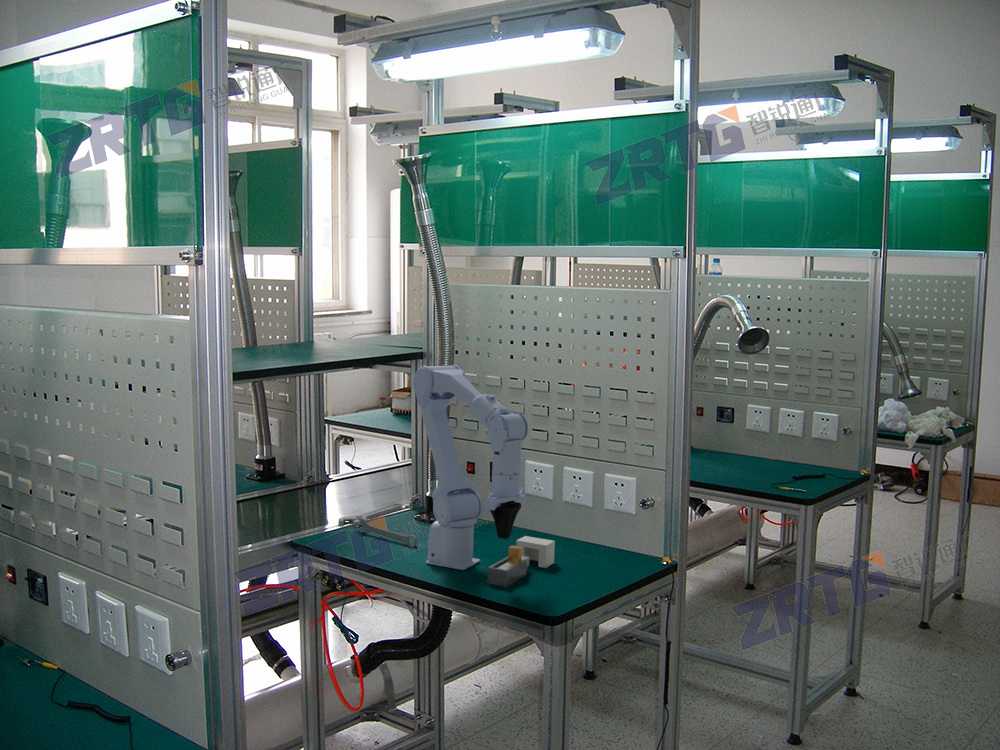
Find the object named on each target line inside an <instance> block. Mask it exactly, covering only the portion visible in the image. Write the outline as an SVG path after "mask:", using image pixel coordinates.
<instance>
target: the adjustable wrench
mask: <svg viewBox="0 0 1000 750" xmlns="http://www.w3.org/2000/svg"><path fill="white" fill-rule="evenodd" d="M402 509H403V503H397V502H396V503H392V504H389V505H386V506H383V507H380V508H377V509H374V510H371V511H368V512H363V513H362V514H358V515H351V516H341V517H340V518H338V526H340V527H343V526H344V525H345V524H344V523H348V524H352V526H353V525H355V524H360V523H362V522H360V521H359V520H358V518H364V519H366V520H367V521H368V522H369V520H368V519H370V520H372V519H371V518H373V519H375V518H378V517H381V516H384V515H386V514H389V513H392V512H396V511H399V510H402ZM383 514H384V515H383ZM380 515H381V516H380ZM374 517H375V518H374ZM345 521H349V522H345ZM343 524H344V525H343Z"/></svg>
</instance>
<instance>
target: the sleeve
mask: <svg viewBox="0 0 1000 750" xmlns="http://www.w3.org/2000/svg"><path fill="white" fill-rule="evenodd" d="M507 562H508V556H506V557H504V558H502V559H500V560H499V561H497V562H495V563H493V564H491V565H489V566H488V567H487V578H486V579H487V581H486V582H487V583H489V584H488V585H492V584H494V586H497V585H498V586H497V587H502V586H503V588H508V587H509V586H511V585H513V584H515V583H516V582H517V581H519V580H521V579H523V578H524V577H526V576H527V569H528V567H527V559H524V560H522V561H520V562H518V563H517V564H515V565H513V566H511V567H510V568H508V569H506V570H504V569H499V568H498V567H499V566H501V565H503V564H505V563H507ZM487 583H486V584H487Z"/></svg>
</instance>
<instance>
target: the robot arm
mask: <svg viewBox="0 0 1000 750" xmlns="http://www.w3.org/2000/svg"><path fill="white" fill-rule="evenodd" d="M412 385H413V390H414V392H415V397H416V400H417V404H418V406H419V407H420V408H419V409H420V413H421V416H422V420H423V425H424V428H425V432H426V437H427V438H428V444H429V447H430V451H431V454H432V458H433V462H434V466H435V470H436V475H437V477H438V481H439V484H438V485H437V486H436V487H435V488H434V490H433V492H432V493H431V497H432V503H433V505H432V511H433V515H434V518H435V521H434V522H432V523H431V525H430V527H429V531H428V539H427V541H428V542H427V545H428V547H427V560H426V561H425V563H426V564H428V565H433V566H438V567H445V568H450V569H454V570H459V571H465V570H467V569H468V568H470V567H472V566H474V565H476V564H478V563H480V562H481V559H480V558H474V557H473V555H474V533H475V531H474V530H475V528H474V526H475V524H477V523H478V519H479V518H480V517H481V516H482V513H483V509H484V510H487V511H488V510H489V512H490V513H491V515H492V517H493V522H494V524H495V529H496V533H497V534H496V535H497V538H498V539H503V540H509V539H510V537H511V534H512V531H513V528H514V524H515V520H516V518H517V516H518V513H519V511H520V509H521V508H522V503H521V502H516V501H522V500H525V487H520V485H521V484H520V483H521V466H522V465H521V463H522V458H521V457H522V441H524V440H525V439H526V437H527V436H528V432H529V425H528V420H527V418H525V416H524V415H523V413H521V412H512V411H510V410H509V408H508V407H507V406H504V405H503V404H502V403H500V401H498V400H497V399H496V396H495V395H494V394H491V393H490V394H489V393H484V394H482V393H481V392H480V391H479V390H478V389H477V388H476V387H475V386H474V385H473V384H472V383H471V382H470V381H469V380H468V379H467V378H466V373H465V371H464V370H463V369H461V368H460V367H459V365H457V364H451V365H428V366H427V365H421V366H419V367H418V368H417V369H416V371H415V373H414V376H413V380H412ZM456 397H457V398H458V399H459V400H460V401H462V402H463V403H464V404H466V405H467V406H469V407H470V413H471V415H472V416H473V417H474V419H476V420H477V421H478V422H479V423H480V424H481V425H483V426H484V428H486V429H487V434H488V437H489V440H490V448H491V451H492V467H491V469H492V470H491V473H492V474H491V492H490V494H489V495H488V497H487V498H485V500H484V506H483V501H482V498H481V496H480V494H479V492H477V489H476V485H475V484H474V483H473V482H472V481H471V480H469V479H467V478H466V477H465V476H464V474H463V470H462V466H461V462H460V460H459V459H460V458H459V456H458V452H457V447H456V445H455V441H454V437H453V432H452V429H451V425H450V422H449V419H448V414H447V409H448V406H450V405H452V404H453V403H454V401H455V399H456Z"/></svg>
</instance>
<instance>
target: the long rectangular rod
mask: <svg viewBox="0 0 1000 750" xmlns="http://www.w3.org/2000/svg"><path fill="white" fill-rule="evenodd" d="M507 557H508V562H507V563H505V564H503V565H501V566H499V567H498V568H499V569H504V570H506V569H508V568H510V567H511V566H513V565H515V564H517V563H518V562H520V561H522V560H524V559H527V568H528V567H530V560H529V557H526V556H522V547H518V546H516V545H510V546H509V547H508V556H507Z"/></svg>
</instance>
